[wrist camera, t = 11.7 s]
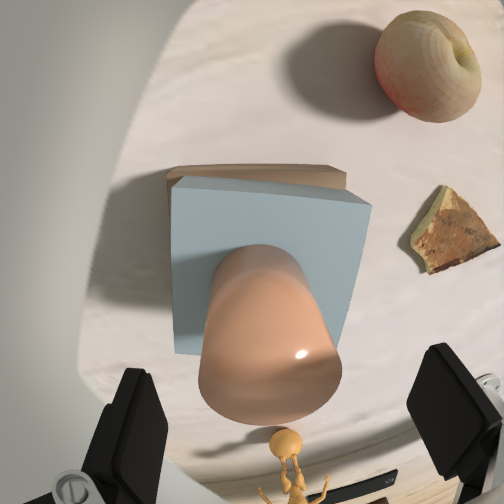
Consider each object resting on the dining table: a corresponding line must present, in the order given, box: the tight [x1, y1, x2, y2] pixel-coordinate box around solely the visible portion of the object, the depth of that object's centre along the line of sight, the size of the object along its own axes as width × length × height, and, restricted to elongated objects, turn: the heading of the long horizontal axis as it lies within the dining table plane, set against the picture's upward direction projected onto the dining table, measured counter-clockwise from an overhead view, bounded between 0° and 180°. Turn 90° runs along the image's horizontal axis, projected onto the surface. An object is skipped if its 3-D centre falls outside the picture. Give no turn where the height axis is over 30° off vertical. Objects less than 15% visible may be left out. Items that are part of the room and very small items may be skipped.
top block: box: [171, 176, 372, 356], centre depth 18 cm, size 10×10×4 cm
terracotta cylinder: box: [198, 244, 342, 426], centre depth 13 cm, size 5×5×7 cm
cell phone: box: [308, 469, 398, 504], centre depth 45 cm, size 9×18×1 cm, turn 105°
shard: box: [410, 186, 501, 275], centre depth 25 cm, size 11×8×2 cm
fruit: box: [374, 10, 481, 123], centre depth 16 cm, size 8×8×8 cm
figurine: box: [258, 429, 329, 504], centre depth 29 cm, size 8×6×12 cm
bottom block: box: [167, 164, 346, 228], centre depth 22 cm, size 11×11×4 cm
